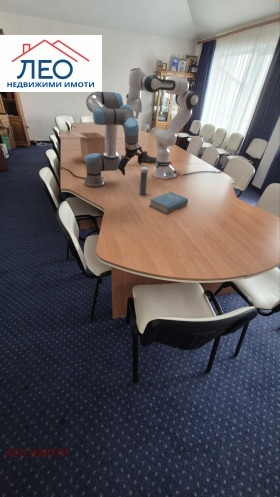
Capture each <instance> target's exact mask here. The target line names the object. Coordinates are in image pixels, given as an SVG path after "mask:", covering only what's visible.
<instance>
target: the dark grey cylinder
mask: <svg viewBox="0 0 280 497" xmlns="http://www.w3.org/2000/svg"><path fill="white" fill-rule="evenodd" d="M147 182H148V172H146V173H144V172H141V171H140V181H139V195H140V196H146V194H147Z"/></svg>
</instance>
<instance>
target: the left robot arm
mask: <svg viewBox="0 0 280 497" xmlns="http://www.w3.org/2000/svg"><path fill="white" fill-rule="evenodd" d="M85 104H86V107H87V110H88V111H89V112H90V113H92V119H93V124H94V125H97V126H105V131H104V132H105V152H104V153H103V156H101V155H100V154H99V153H92V154H89V155H87V156H86V162H85V168H86V169H85V170H86V177H84V176H83V177H82V176H78V175H75V174H74V173H73V172H72V171H71V170H70V169H68V168H66V167H64V166H63V167H62V166H61V167H60V169H61V170H62V169H64V170H66V171H69V173H70V174H71V175H72V176H73V177H75V178H79V179H83V180H84V185H85V186H87V187H90V188H99V187H102V186H104V184H105V182H104V179H105V178H104V176H103V175H102V172H115V171H120V172H121V174H122V175H123V176H124V177H125V176H126V169H125V168H126V167H127V164H128V163H129V162H130V161H131V159H132V158H134V157H135V156H136V157H137V164H138V165H139V166H141V165H142V162H141V160H142V158H143V155H145V153H144V151H143V149H142V146H141V145H140V144H139V135H140V134H139V131H140V126H139V121H138V119H135V113H134V111H133V110H132V108H131V106H129V105H127V104H124V101H123V97H122V94H121V93H119V92H115V91H94V92H91V93H90V94H89V95H88V96H87V98H86V100H85ZM118 126H122V129H123V132H124V151H125V153H124V155H123V154H122V155H121V157H120V155H119V153H118V152H117V147H118Z"/></svg>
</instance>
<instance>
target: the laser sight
mask: <svg viewBox="0 0 280 497" xmlns="http://www.w3.org/2000/svg"><path fill="white" fill-rule="evenodd" d="M143 152H144V153H145V155H143V158H142V160H141V163H149V164H151V163H153V164H156V159H157V156H156V157H154V156H151V155H149V154H148V151H147V150H145V151H143Z"/></svg>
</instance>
